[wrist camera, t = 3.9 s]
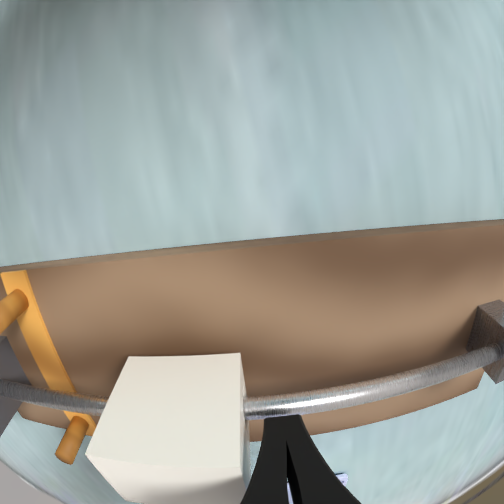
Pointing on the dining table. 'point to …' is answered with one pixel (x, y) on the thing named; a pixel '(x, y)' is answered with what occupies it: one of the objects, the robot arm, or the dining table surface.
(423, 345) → the walnut board
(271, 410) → the metal rod
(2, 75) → the dining table surface
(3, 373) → the connector
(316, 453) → the robot arm
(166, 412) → the sleeve
